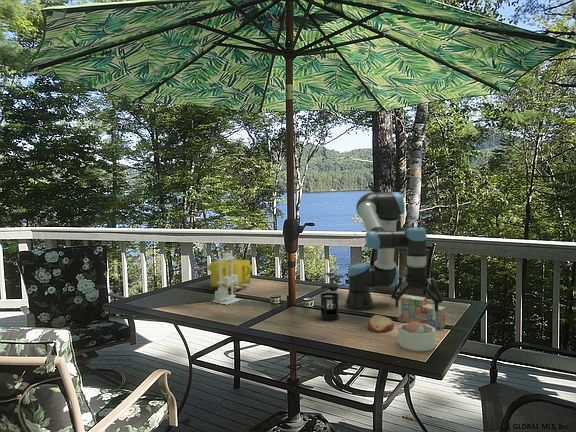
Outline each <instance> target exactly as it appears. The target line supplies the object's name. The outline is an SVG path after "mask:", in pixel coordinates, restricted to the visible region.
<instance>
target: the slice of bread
mask: <svg viewBox="0 0 576 432" xmlns="http://www.w3.org/2000/svg"><path fill="white" fill-rule="evenodd" d="M367 326H368V329H369V331H370V330H371V332H373V333H375V334H386V333H387V332H390V331H392V330H394V327H395V322H394V320H392V319H391V318H390V317H387V316H385V315H380V314H373V316H371V318H370V319H369V321H368V324H367Z"/></svg>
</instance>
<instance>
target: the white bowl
mask: <svg viewBox="0 0 576 432" xmlns="http://www.w3.org/2000/svg"><path fill="white" fill-rule="evenodd" d="M407 324H408V323H406V322H405V323H401V324H400V325H399V326H398V328H397V334H398V335H397V343H398V345H399V347H401V348H403V349H405V350H407V351H411V352H418V353H419V352H421V353H422V352H423V353H424V352H430V351H432V350H434V349H435V347H436V329H435V328H434V327H431V326H429V325H427V324H421V326H422V327H423V329H424V333H423V334H418V333H410V332H407V331H405V327H406V325H407Z"/></svg>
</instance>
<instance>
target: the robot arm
mask: <svg viewBox="0 0 576 432" xmlns="http://www.w3.org/2000/svg"><path fill="white" fill-rule="evenodd" d="M355 207H356V208H355V210H356V213H357V215H358V217H360V218H361V220H362V223H363V225H364V227H365V230H366V233H365V245H366V248H367V249H371V250H372V249H373V250H377V257H376V260H375V261H374V262H373V265H371V264H370V263H367V262H365V263H364V262H362V263H355V264H352V265H350V266H349V268H348V274H347V276H348V293H347V297H346V300H345V307H346V308H348V309H349V310H357V311H366V310H371V309H373V308H374V300H373V297H372V294H371V288H393V287H395V289H394V290H393V292H392V293H391V297H390V298H391V299H393V300H394V301H395V308H397V317H398V316H401V299H399V298H400V297H401V296H402V295H403V294H406V292H407V291H408V290H409V289H410V288H411V289H414V290H415V289H416V290H421V289H422V290H423V291H424V292H425V293H426V294H427V295H428V296H429V298H430V299H431V300H432V301H433V303H432V305H433V320H435V311H438V306H439V304H442V303H443V301H444V298H443V297H442V295H441V292H440V290H439V289H438V287H437V285H436V282H435V281H436V280H435V278H434V277H432V278H427V230H426V228H425V227H409V228H407V229H403V230H397V222H398V221H400V219H401V216H402V215H404V214H405V200H404V197H403V194H402V193H401V192H398V191H397V192H396V191H378V192H373V191H372V192H368V193H365V194H363V195H362V196H361V197H360V198H359V199H358V201H357V203H356V206H355ZM395 249H406V265H407V266H406V277H404V276H403V275H400V269H399V266H397V263H396V262H395V261H394V260H395V259H394V258H395ZM404 282H406V283H407V285H405V287H404V288H403V289H402V290H401V291H400V293H399V294H398V291H399V289H400V287H401V286H402V283H404ZM427 283H429V285H431V287H432V289H433V291H434V293H435V295H434V293H433V292H432V291H431V289H430V288H429V287H428V286H427V285H426V284H427Z"/></svg>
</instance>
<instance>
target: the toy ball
mask: <svg viewBox="0 0 576 432" xmlns="http://www.w3.org/2000/svg"><path fill="white" fill-rule="evenodd" d="M405 331H407V332H410V333H418V334H423V333H424V329H423V327H422V326H421V323H419V322H416V321H412V322H410V323H408V324H407V325H406V327H405Z"/></svg>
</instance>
